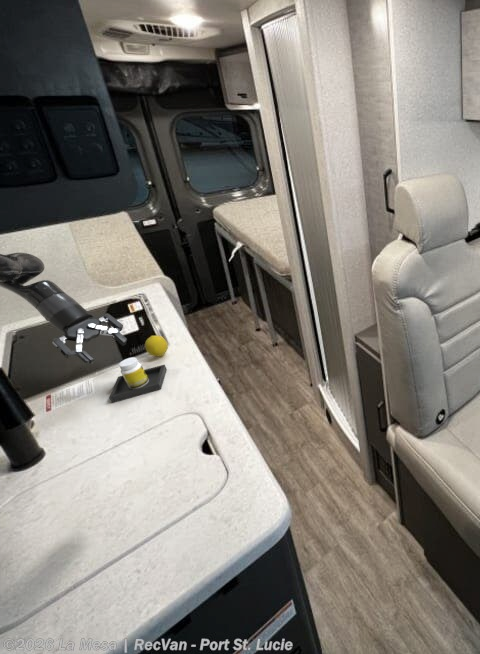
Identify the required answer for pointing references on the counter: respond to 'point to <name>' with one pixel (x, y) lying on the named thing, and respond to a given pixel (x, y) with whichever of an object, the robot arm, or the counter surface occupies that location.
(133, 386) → the supplement bottle
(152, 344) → the lemon
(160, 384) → the dock pad
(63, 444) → the counter surface
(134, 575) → the counter surface
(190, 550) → the counter surface
